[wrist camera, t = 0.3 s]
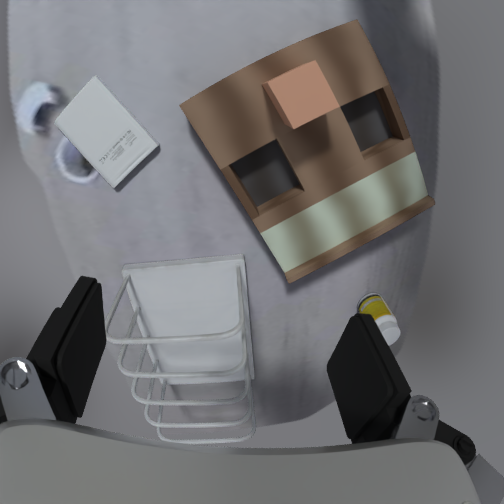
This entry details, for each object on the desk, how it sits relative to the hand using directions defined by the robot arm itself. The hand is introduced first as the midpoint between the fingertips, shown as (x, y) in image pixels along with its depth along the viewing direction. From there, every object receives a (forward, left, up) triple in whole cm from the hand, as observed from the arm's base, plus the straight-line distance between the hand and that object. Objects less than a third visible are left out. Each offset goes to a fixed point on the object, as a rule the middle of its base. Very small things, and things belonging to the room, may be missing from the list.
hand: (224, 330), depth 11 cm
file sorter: (+18, +20, -30) cm, 40 cm away
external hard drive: (+11, -11, -30) cm, 34 cm away
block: (-10, -3, -26) cm, 28 cm away
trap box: (-10, +4, -30) cm, 32 cm away
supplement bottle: (-8, +32, -30) cm, 44 cm away
